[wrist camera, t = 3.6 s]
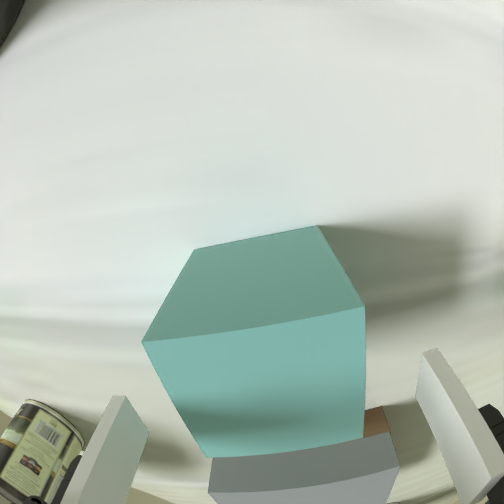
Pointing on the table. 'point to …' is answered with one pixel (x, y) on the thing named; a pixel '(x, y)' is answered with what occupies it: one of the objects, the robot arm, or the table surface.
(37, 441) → the coffee can
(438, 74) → the table surface
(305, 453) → the grey slab
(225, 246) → the teal block
